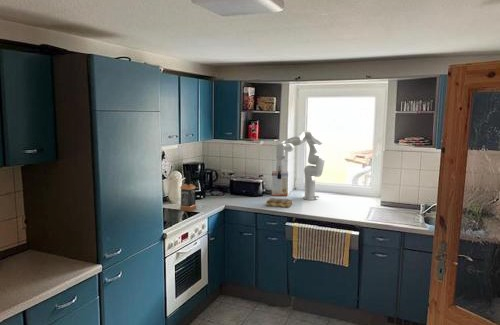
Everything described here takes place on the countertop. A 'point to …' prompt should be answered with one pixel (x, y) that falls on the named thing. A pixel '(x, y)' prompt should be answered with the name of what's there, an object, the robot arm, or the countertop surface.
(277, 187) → the cracker box
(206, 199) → the countertop surface
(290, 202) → the tan flat block
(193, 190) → the whiskey bottle
